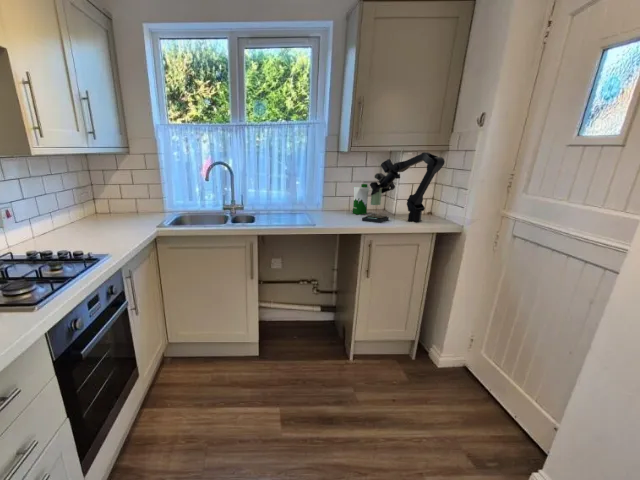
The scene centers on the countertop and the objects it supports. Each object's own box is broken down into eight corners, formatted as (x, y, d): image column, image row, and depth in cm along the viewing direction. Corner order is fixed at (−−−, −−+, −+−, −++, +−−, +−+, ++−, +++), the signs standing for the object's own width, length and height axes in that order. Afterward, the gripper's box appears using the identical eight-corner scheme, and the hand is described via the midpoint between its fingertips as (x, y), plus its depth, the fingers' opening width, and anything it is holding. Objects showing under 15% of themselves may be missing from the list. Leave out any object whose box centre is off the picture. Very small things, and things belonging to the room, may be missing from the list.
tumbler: (382, 204, 248) (383, 184, 243) (377, 205, 243) (379, 185, 239) (373, 203, 252) (375, 184, 247) (369, 204, 247) (370, 185, 243)
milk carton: (368, 214, 252) (371, 184, 245) (357, 215, 249) (359, 185, 242) (361, 212, 260) (363, 183, 253) (350, 213, 257) (352, 184, 250)
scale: (388, 220, 228) (388, 216, 227) (380, 222, 220) (380, 218, 219) (370, 218, 236) (371, 214, 235) (361, 220, 228) (362, 216, 227)
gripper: (393, 168, 241) (379, 184, 253) (373, 169, 232) (359, 186, 245) (401, 181, 237) (386, 197, 250) (381, 182, 228) (367, 199, 241)
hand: (374, 194), depth 246 cm, fingers closed on tumbler, 6 cm apart
